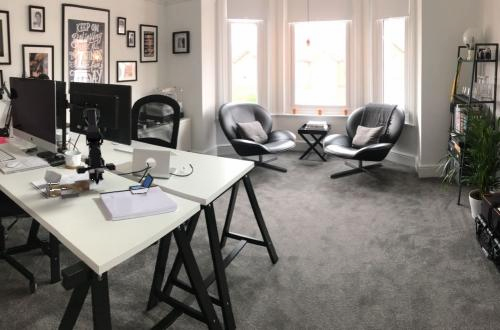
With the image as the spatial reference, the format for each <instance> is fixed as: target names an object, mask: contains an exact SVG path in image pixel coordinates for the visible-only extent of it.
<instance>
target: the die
mask: <svg viewBox="0 0 500 330" xmlns="http://www.w3.org/2000/svg"><path fill="white" fill-rule="evenodd" d="M62 176H63V175H62V174H61V172H60V171H59V170H58V168H54V169H52V168H51V169H47V170H46V171H45V175H44V179H43V180H44V181H45V182H46V183H47V184H48V183H50V184H51V183H58V182H61V179H62Z"/></svg>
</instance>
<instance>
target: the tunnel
mask: <svg viewBox="0 0 500 330" xmlns="http://www.w3.org/2000/svg"><path fill="white" fill-rule="evenodd" d="M62 188H66V189H65V190H68V189H67V188H73V189H75V182H74V183H73V182H72V183H63V184H62V183H61V184H55V185H48V184H47V185H46V184H45V192H46V191H47V192H46V195H47V197H48V198H50V197H54V196H53V195H59V196H61V195H63V194H62V190H54V191H50V190H52V189H62ZM75 191H76V192H75V193H78V194H82V193H83V191H82V187H79V188H76V189H75Z"/></svg>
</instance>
